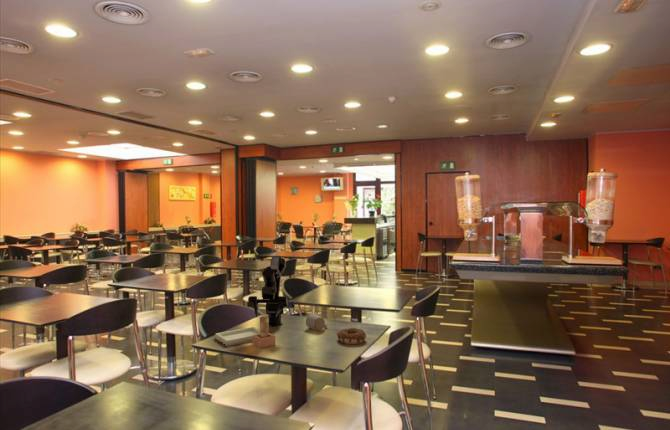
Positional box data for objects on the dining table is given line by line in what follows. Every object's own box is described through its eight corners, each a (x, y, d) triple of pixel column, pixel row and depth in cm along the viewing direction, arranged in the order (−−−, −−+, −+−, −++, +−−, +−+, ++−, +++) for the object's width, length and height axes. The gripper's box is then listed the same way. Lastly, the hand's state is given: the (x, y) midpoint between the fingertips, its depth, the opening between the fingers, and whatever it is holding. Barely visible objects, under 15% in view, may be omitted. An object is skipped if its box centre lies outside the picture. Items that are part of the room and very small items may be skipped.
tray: (253, 331, 216) (253, 326, 215) (266, 338, 204) (266, 333, 204) (215, 338, 204) (215, 333, 203) (227, 346, 192) (227, 340, 192)
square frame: (267, 340, 201) (267, 332, 201) (275, 344, 195) (275, 336, 195) (253, 343, 196) (253, 335, 196) (260, 348, 190) (260, 339, 190)
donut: (369, 338, 206) (369, 328, 206) (361, 346, 193) (361, 336, 193) (341, 335, 210) (341, 325, 210) (332, 343, 198) (332, 333, 197)
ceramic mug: (315, 332, 215) (315, 317, 215) (305, 328, 221) (305, 314, 221) (330, 328, 222) (330, 314, 222) (320, 325, 228) (320, 311, 228)
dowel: (265, 342, 198) (266, 316, 198) (270, 344, 195) (270, 317, 195) (258, 344, 196) (258, 317, 196) (262, 346, 193) (262, 319, 192)
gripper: (248, 279, 206) (243, 307, 195) (286, 279, 206) (284, 307, 195) (251, 292, 213) (247, 320, 203) (288, 292, 213) (286, 320, 203)
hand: (265, 316), depth 200 cm, fingers open, 9 cm apart
